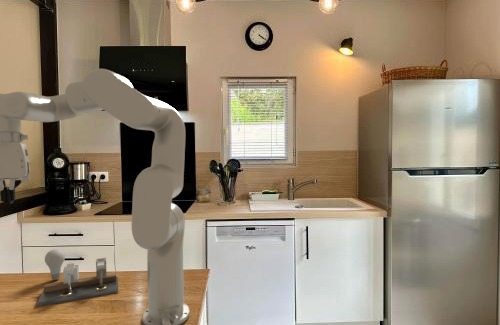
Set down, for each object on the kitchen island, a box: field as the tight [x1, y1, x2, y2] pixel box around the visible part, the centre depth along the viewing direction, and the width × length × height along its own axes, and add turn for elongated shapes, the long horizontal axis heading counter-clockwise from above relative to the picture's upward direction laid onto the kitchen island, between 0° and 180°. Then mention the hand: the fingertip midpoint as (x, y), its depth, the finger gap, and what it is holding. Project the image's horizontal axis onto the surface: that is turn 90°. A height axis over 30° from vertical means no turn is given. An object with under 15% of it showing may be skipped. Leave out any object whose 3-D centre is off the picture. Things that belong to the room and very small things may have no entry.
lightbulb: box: [44, 248, 66, 281], centre depth 110 cm, size 6×6×11 cm
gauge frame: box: [43, 257, 117, 292], centre depth 102 cm, size 7×21×8 cm, turn 114°
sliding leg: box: [62, 262, 80, 292], centre depth 101 cm, size 7×4×7 cm, turn 24°
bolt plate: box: [37, 276, 119, 307], centre depth 101 cm, size 10×22×1 cm, turn 114°
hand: (8, 203), depth 89 cm, fingers closed
